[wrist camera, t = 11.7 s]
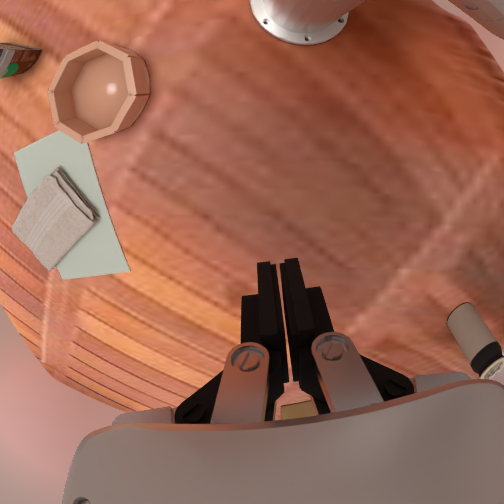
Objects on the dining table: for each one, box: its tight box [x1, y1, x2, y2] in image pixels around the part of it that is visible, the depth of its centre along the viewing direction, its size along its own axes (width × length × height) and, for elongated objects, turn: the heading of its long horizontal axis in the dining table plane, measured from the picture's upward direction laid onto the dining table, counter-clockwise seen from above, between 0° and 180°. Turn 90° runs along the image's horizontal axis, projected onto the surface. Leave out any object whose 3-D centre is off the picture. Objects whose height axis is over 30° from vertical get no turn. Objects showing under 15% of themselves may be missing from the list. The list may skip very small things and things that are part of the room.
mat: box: [14, 130, 131, 280], centre depth 41 cm, size 26×16×1 cm, turn 8°
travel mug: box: [447, 303, 504, 380], centre depth 47 cm, size 8×8×18 cm
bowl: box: [48, 41, 150, 144], centre depth 29 cm, size 13×13×6 cm
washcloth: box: [12, 167, 100, 271], centre depth 40 cm, size 12×18×3 cm, turn 126°
